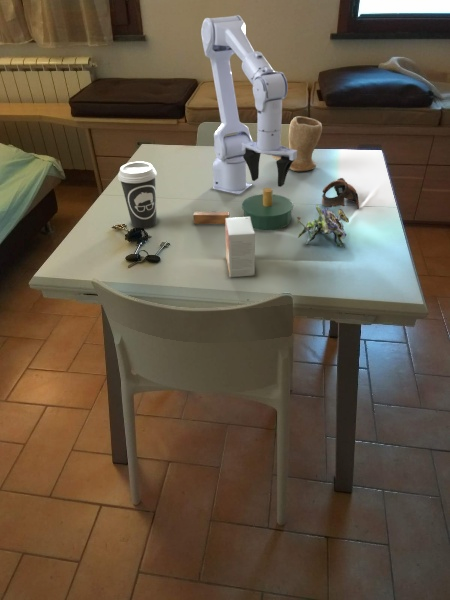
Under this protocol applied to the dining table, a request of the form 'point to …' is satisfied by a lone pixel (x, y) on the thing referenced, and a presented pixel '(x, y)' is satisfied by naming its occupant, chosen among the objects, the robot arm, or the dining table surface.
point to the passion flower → (326, 225)
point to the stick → (210, 217)
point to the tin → (269, 221)
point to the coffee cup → (139, 192)
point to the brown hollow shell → (340, 194)
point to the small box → (240, 246)
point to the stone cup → (303, 142)
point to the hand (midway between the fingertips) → (267, 182)
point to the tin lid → (267, 205)
